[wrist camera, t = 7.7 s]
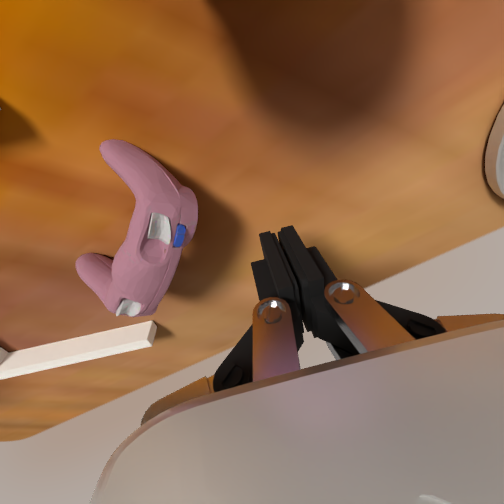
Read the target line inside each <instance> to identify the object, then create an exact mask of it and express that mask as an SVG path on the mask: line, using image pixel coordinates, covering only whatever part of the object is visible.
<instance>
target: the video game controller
mask: <svg viewBox="0 0 504 504" xmlns="http://www.w3.org/2000/svg"><path fill="white" fill-rule="evenodd" d="M100 152H101V154H102V156H103V158H104V160H105V161H106V163H107V164H108V165H109V166H110V167H111V168H112V169H113V170H114V171H115V172H116V173H117V174H118V175H119V176H120V177H121V178H122V179H123V180H124V182H125V183H126V184H127V185H128V187H129V188H130V189H131V190H132V192H133V194H134V195H135V198H136V206H135V210H134V213H133V216H132V219H131V222H130V225H129V229H128V233H127V237H126V239H125V241H124V242H123V244H122V245H121V247H120V248H119V250H118V252H117V253H116V255H115V257H114V260H111V259H109V258H107V257H105V256H103V255H99V254H94V253H87V254H83V255H81V256H80V257H79V258H78V259H77V261H76V269H77V272H78V274H79V276H80V278H81V279H82V280H83V281H84V282H85V283H86V284H87V285H88V286H89V287H90V288H91V289H92V290H93V291H94V292H95V293H96V294H97V295H98V296H99V298H100V299H101V300H102V302H103V303H104V305H105V306H106V308H107V309H108V310H109V311H110V312H112V313H116V316H118V315H125V316H130V317H138V316H147V315H152V314H154V313H155V311H156V309H157V306H158V304H159V303H160V301H161V300H162V298H163V296H164V295H165V293H166V291H167V289H168V287H169V285H170V283H171V281H172V278H173V276H174V274H175V271H176V269H177V266H178V263H179V260H180V256H181V253H182V249H183V247H185V246H186V245H187V244H188V243H189V242H190V241H191V239H192V238H193V235H194V233H195V230H196V226H197V221H198V204H197V199H196V196H195V194H194V193H193V191H192V190H191V189H190V188H188V187H185V186H182V185H181V184H180V183H179V181H178V180H177V179H176V178H175V177H174V176H173V175H172V174H171V173H170V172H169V171H168V170H167V169H166V168H164V167H163V166H162V165H161V164H160V163H159V162H158V161H157V160H155V159H154V158H153V157H152V156H150V155H149V154H147V153H146V152H144V151H143V150H141V149H140V148H138V147H136V146H134V145H132V144H130V143H128V142H125V141H123V140H114V139H113V140H106V141H104V142H103V143H101V145H100Z"/></svg>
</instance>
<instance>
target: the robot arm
mask: <svg viewBox="0 0 504 504" xmlns="http://www.w3.org/2000/svg"><path fill="white" fill-rule="evenodd" d="M485 173H486V177H487V181H488V184H489V185H490V187H491V188H492V190H493V191H494V193H495V194H497V195H498V196H500V197H501V198H503V199H504V104H503V106H502V108H501V110H500V112H499V114H498V116H497V118H496V121H495V123H494V126H493V129H492V131H491V134H490V136H489V141H488V145H487V150H486V154H485ZM259 237H260V241H261V246H262V250H263V254H264V259H263V260H259V261H256V262H252V263H251V266H252V270H253V275H254V279H255V283H256V287H257V292H258V296H259V300H260V302H259V303H258V304H257V305H256V306H255V308H254V310H253V324H252V325H251V327H250V328H249V329H248V330H247V332H246V333H245V334H244V336H243V337H242V338H241V339H240V341H239V342H238V343H237V345H236V346H235V347H234V348H233V350H232V351H231V352H230V354H229V355H228V356H227V357H226V359H225V360H224V361H223V363H222V364H221V365H220V366H219V368H218V369H217V371H216V373H215V375H213V376H211V377H209V378H207V377H206V376H205V377H203V378H201V379H199V380H197V381H195V382H193V383H191V384H189V385H187V386H185V387H183V388H181V389H179V390H177V391H175V392H173V393H171V394H169V395H167V396H166V397H163V398H161V399H159V400H158V401H156V402H155V403H153V404H152V405H151V406H150V407H149V408H148V409H147V411H146V412H145V414H144V416H143V418H142V421H141V427H139V428H138V429H137V430H136V431H134V432H133V433H132V434H131V435H130V436H129V437H128V438H127V439H126V440H124V441H123V442H122V443H121V445H119V447H118V448H117V449H116V450H115V451H114V453H113V454H112V455H111V457H110V459H109V461H108V462H107V464H106V466H105V467H104V469H103V472H102V474H101V476H100V478H99V480H98V483H97V485H96V488H95V490H94V493H93V495H92V498H91V501H90V504H504V314H478V315H460V316H459V315H457V316H438V317H437V319H434V320H433V319H432V318H429V317H427V316H425V315H422V314H419V313H416V312H412V311H409V310H406V309H403V308H399V307H396V306H393V305H390V304H387V303H383V302H380V301H376V300H374V299H373V298H372V297H371V296H370V295H369V294H368V293H367V292H366V291H365V290H364V289H363V288H362V287H361V286H360V285H358V284H357V283H355V282H353V281H350V280H337V278H336V277H335V275H334V274H333V272H332V271H331V269H330V268H329V266H328V265H327V263H326V262H325V260H324V259H323V257H322V256H321V254H320V253H319V251H318V250H317V248H316V247H310V248H306V247H305V246H304V244H303V242H302V241H301V239H300V237H299V236H298V234H297V232H296V231H295V229H294V227H293V226H292V225H291V226H287V227H283V228H281V231H280V232H278V238H279V241H278V239H277V237H276V235H275V233H272V234H271V233H270V231H268V232H264V233H260V234H259ZM302 320H303V321H302ZM303 323H304V325H305V328H306V330H307V332H309V331H312V334H313V336H314V338H316V337H318V338H320V339H322V340H324V341H326V343H327V346H328V348H329V349H330V351H331V352H332V354H333V355H334V357H335V359H336V360H335V361H331V362H328V363H324V364H320V365H317V366H312V367H308V368H304V369H301V370H300V364H299V358H298V351H299V349H300V347H301V345H302V344H303V342H304V340H303V334H302V333H304V328H303Z"/></svg>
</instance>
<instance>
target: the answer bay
mask: <svg viewBox="0 0 504 504" xmlns="http://www.w3.org/2000/svg"><path fill="white" fill-rule="evenodd" d="M0 110H2V109H1V108H0ZM156 330H157V326H156V325H155V323H154V322H153V320H152V321H147V322H143V323H139V324H134V325H130V326H125V327H121V328H116V329H112V330H108V331H103V332H99V333H94V334H90V335H85V336H81V337H76V338H72V339H68V340H63V341H59V342H54V343H50V344H45V345H41V346H36V347H32V348H28V349H23V350H19V351H14V352H10V353H8V352H7V351H6V350H4V349H3V348H1V347H0V380H1V379H5V378H10V377H14V376H19V375H23V374H28V373H33V372H37V371H42V370H46V369H51V368H55V367H60V366H64V365H69V364H73V363H78V362H82V361H87V360H91V359H96V358H100V357H105V356H109V355H114V354H118V353H123V352H127V351H132V350H136V349H141V348H145V347H150V346H152V345H153V341H154V337H155V334H156Z"/></svg>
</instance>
